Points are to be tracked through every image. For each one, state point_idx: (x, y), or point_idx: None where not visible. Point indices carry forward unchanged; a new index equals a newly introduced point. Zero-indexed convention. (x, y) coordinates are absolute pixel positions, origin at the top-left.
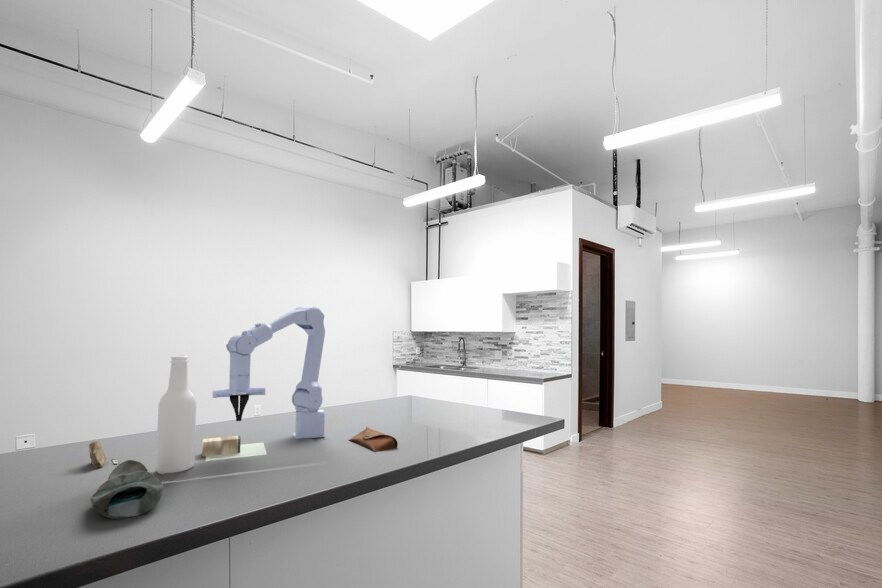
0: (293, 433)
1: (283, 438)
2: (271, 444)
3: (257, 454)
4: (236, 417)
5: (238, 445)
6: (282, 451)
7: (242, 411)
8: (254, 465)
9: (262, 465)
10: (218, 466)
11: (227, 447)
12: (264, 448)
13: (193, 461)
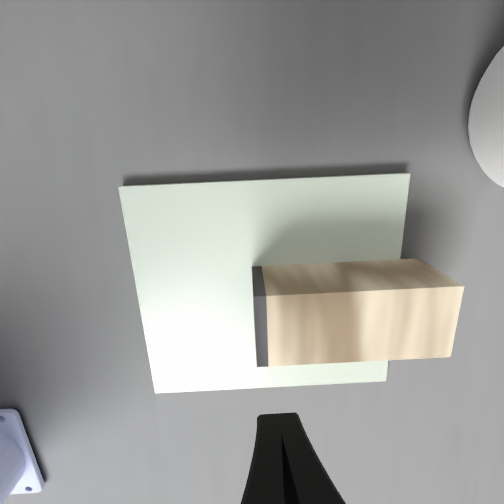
0: (38, 486)
1: (80, 447)
2: (122, 378)
3: (166, 202)
4: (304, 437)
5: (262, 279)
6: (54, 252)
7: (252, 496)
8: (172, 34)
9: (128, 16)
10: (349, 91)
11: (315, 275)
12: (141, 298)
13: (492, 87)
